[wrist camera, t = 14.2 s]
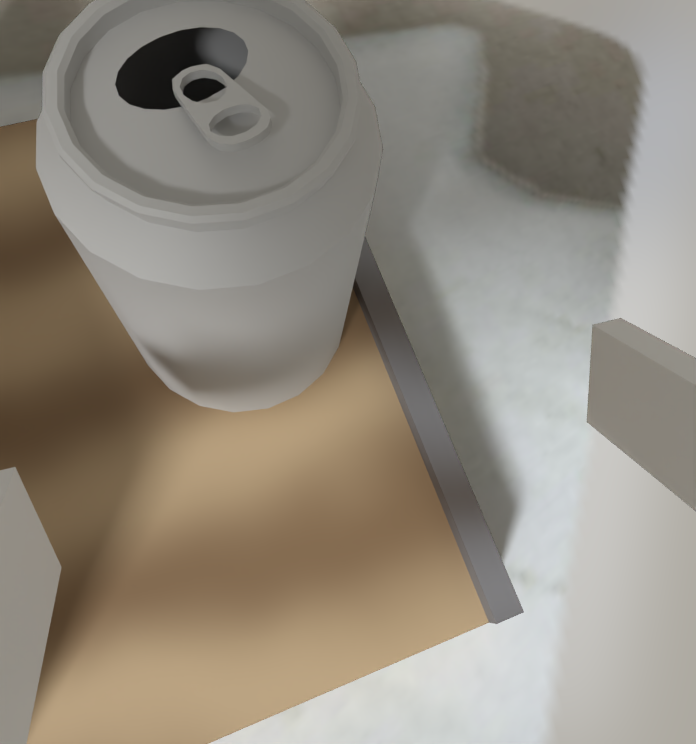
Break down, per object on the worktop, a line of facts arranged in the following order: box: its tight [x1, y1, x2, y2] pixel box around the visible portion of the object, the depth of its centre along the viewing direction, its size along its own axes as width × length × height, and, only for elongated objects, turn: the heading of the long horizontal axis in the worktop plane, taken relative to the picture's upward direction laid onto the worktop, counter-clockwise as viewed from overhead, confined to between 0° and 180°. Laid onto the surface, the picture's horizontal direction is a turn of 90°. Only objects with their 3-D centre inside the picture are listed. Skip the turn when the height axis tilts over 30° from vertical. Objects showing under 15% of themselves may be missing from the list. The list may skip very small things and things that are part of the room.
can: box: [36, 0, 383, 412], centre depth 18 cm, size 8×8×12 cm
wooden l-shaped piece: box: [0, 119, 524, 744], centre depth 18 cm, size 24×20×14 cm
